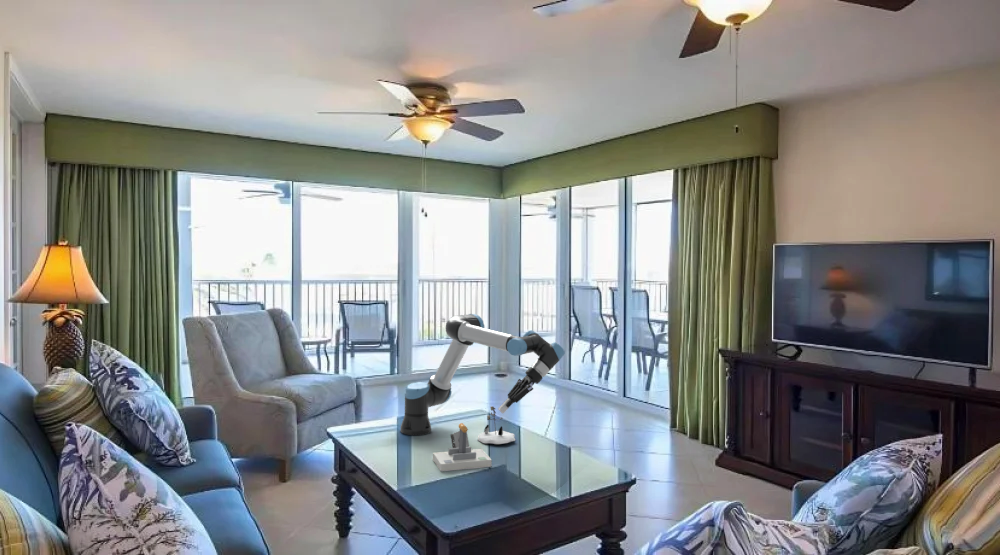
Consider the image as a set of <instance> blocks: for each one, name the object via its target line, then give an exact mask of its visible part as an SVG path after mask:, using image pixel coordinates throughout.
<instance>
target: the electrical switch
mask: <svg viewBox="0 0 1000 555" xmlns="http://www.w3.org/2000/svg"><path fill="white" fill-rule="evenodd" d="M459 431H460V430H458V431H455V432H453V433H452V434H450V440H451V444H452V445H451V446H452V448H459ZM469 443H470V442H469V437H468V431H467V432H466V447H470V444H469Z"/></svg>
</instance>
